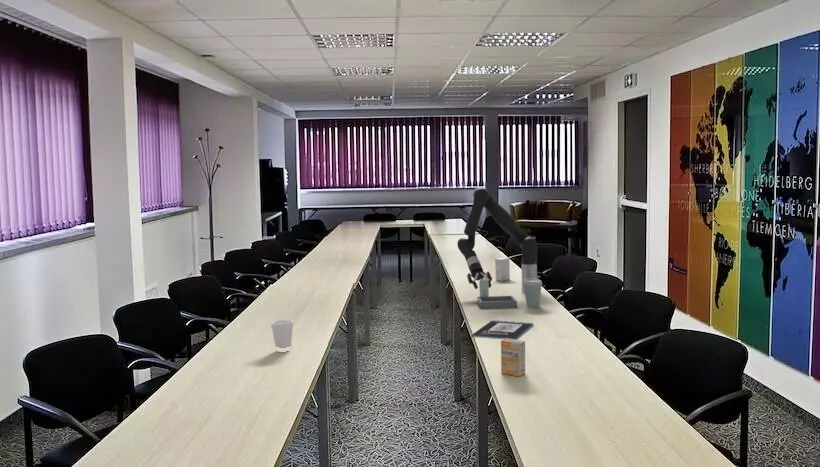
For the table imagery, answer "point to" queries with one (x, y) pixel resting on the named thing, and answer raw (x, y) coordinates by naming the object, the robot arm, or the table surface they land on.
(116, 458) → the table surface
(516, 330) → the sketchbook
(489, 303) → the tray
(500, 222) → the robot arm
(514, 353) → the supplement box
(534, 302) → the disposable coffee cup
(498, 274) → the skincare box
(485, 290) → the shaker
